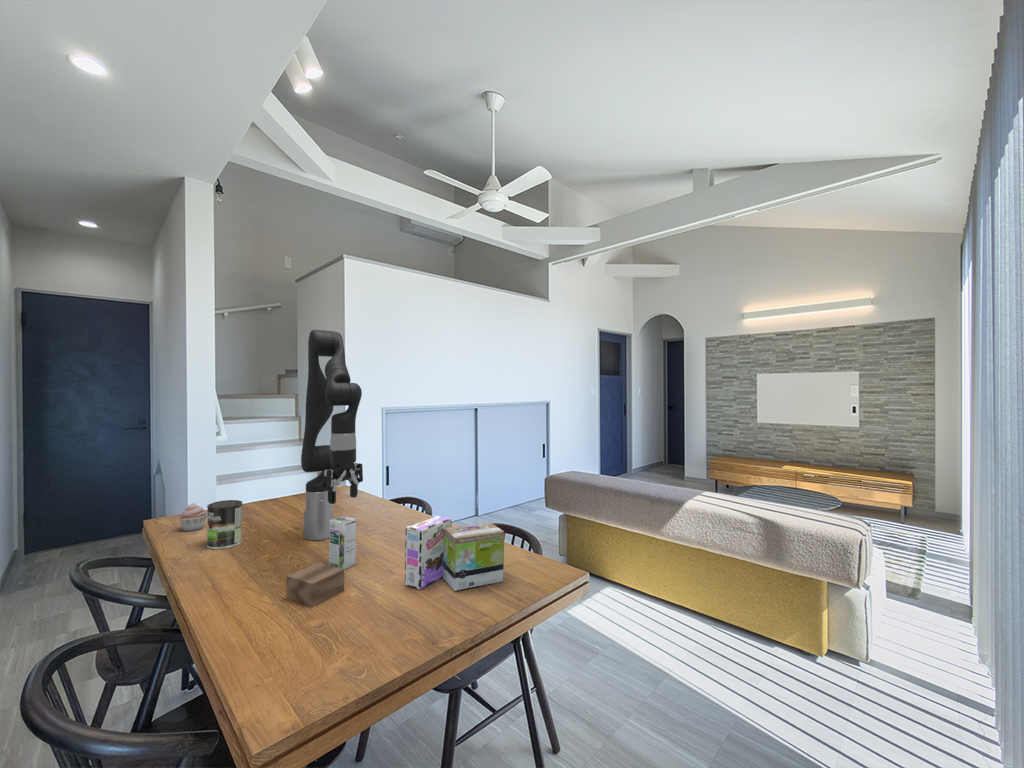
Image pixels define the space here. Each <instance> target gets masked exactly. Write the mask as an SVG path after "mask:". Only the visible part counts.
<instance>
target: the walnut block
mask: <svg viewBox="0 0 1024 768" xmlns="http://www.w3.org/2000/svg"><path fill="white" fill-rule="evenodd" d="M285 582H286V584H285V585H286V599H289V600H291V601H294V602H297V603H299V604H302V605H305V606H309V607H311V608H314V607H315V606H317V605H320V604H321V603H323V602H325V601H327V600H329V599H330V598H333V597H335V596H338V594H340V593H343V592H345V569H340V568H337V567H333V566H329V564H325V563H322V562H317V563H314V564H312V565H309V566H307V567H305V568H302V569H300V570H297V571H295V572H293V573H290V574H288V575H286V581H285Z"/></svg>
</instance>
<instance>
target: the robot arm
mask: <svg viewBox="0 0 1024 768" xmlns="http://www.w3.org/2000/svg"><path fill="white" fill-rule="evenodd" d="M307 342H308V343H307V347H308V349H307V351H308V352H307V354H308V355H307V358H308V359H307V360H308V364H307V367H308V368H307V370H308V371H307V387H306V397H305V398H306V399H305V419H304V421H305V423H304V433H303V441H302V448H301V455H300V463H301V468H302V471H304V472H305V473H316V472H320V473H319V474H318V475H317V476H316V477H314V478H312V479H311V480H308V481H307V482H306V484H305V510H303V538H305V540H308V541H321V540H326V539H329V537H330V520H332V519H334V512H333V511H334V505H335V504H336V503H337V491H336V490H337V488H338V486H339V485H340V484H341V482H344V481H348V482H349V484H350V485H349V489H350V490H349V496H350V498H353V499H354V498H357V497H358V488H359V486H358V485H359V484H360V483H362V482H363V481H364V475H363V464H362V463H360V462H358V463H357V435H356V419H357V413H358V410H359V406H360V403H361V399H362V394H363V391H362V388H361V386H360V385H359V384H358V383H357V382H356V383H355V382H351V377H350V376H351V375H350V373H349V369H348V367H347V363H346V353H345V346H344V340H343V336H342V334H341V333H340V332H338V331H333V330H323V329H321V330H320V329H312V330H310V332H309V334H308V341H307ZM319 357H329V360H328V361H327V362H326V364H325V366H324V372H323V371H322V368H321V365H320V360H319V359H320V358H319ZM334 406H335V407H339V406H342V407H343V406H344V407H345V406H347V408H346V410H345V411H342V412H340V413H339V412H338V413H335V414H333V412H334ZM332 414H333V415H332ZM330 418H331V420H330V421H331V422H330V426H331V427H330V429H331V430H330V431H331V433H330V441H329V443H330V444H324V445H316V442H317V439H318V436H319V434H320V432H321V430H322V429H323V428H324V426H325V425H326V423H327V422H328V421H329V419H330Z"/></svg>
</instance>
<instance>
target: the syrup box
mask: <svg viewBox="0 0 1024 768" xmlns="http://www.w3.org/2000/svg"><path fill="white" fill-rule="evenodd" d="M328 539H329V545H328V546H329V547H328V549H329V550H328V551H329V552H328V565H329V566H333V567H337V568H340V569H344V570H346V569H349V568H351V567H353V566H355V565H356V554H357V553H356V551H357V550H356V547H357V540H356V539H357V518H356V517H355V518H354V517H348V516H338V517H335V518H334V517H333V519H332V520H330V537H329V538H328Z"/></svg>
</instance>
